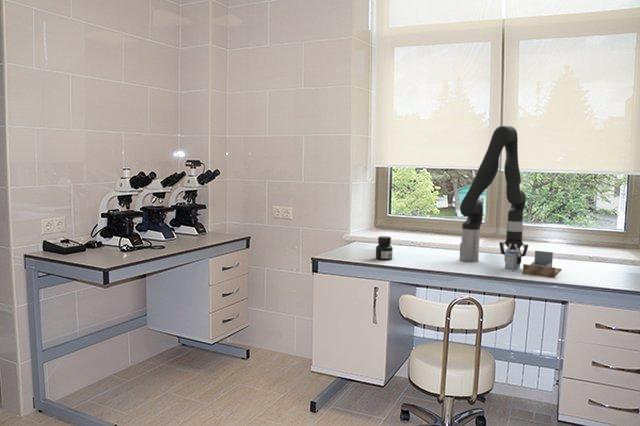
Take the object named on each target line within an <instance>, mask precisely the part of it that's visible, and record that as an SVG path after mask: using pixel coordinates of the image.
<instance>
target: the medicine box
mask: <svg viewBox="0 0 640 426" xmlns="http://www.w3.org/2000/svg"><path fill="white" fill-rule="evenodd" d="M505 252H506V251H505ZM504 262H505V263H504V269H507V270H511V271H513V270H516V269H520V267H521V263H520V264H518V253H517V251H515V250H510V251H507V252H506V258H505V257H504Z"/></svg>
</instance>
